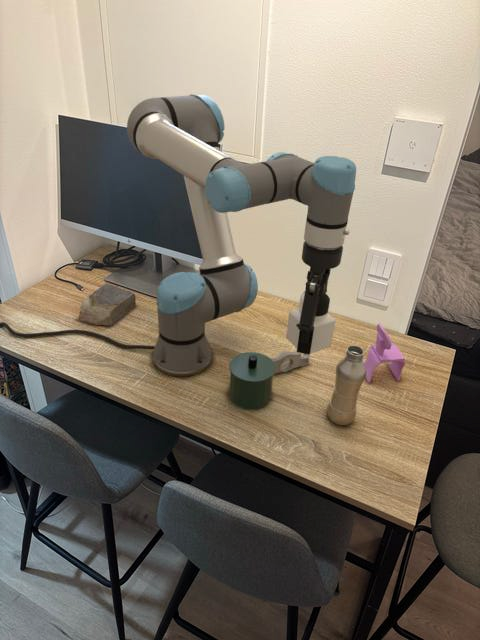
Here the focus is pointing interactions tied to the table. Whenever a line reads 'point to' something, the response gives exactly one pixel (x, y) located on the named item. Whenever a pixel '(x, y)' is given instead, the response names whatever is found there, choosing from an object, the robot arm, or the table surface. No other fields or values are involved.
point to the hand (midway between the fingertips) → (308, 338)
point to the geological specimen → (106, 305)
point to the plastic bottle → (347, 386)
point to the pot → (250, 393)
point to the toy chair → (384, 355)
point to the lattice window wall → (294, 361)
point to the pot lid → (252, 367)
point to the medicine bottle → (322, 325)
